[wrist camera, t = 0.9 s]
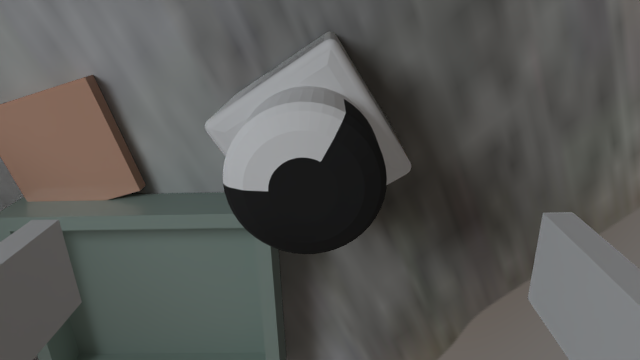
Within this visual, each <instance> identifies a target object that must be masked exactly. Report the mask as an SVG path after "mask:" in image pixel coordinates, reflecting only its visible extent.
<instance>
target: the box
mask: <svg viewBox="0 0 640 360" xmlns="http://www.w3.org/2000/svg"><path fill="white" fill-rule="evenodd" d="M31 220H59V222H60V226H61V229H62V233H63V236H64V240H65V244H66V247H67V251H68V254H69V258H70V262H71V265H72V269H73V272H74V276H75V280H76V283H77V287H78V290H79V294H80V297H81V301H82V303H81V304H80V305H79V306H78V307H77V309H76V310H75V311H74V312H73V313H72V314H71V316H70V317H69V318H68V319H67V320H66V321H65V323H64V324H63V325H62V326H61V327H60V329H59V330H58V331H57V332H56V333H55V334H54V336H53V337H52V338H51V339H50V340H49V341H48V343H47V344H46V345H45V346H44V347H43V349H42V350H41V351H40V352H39V353H38V354H37V356H38V359H39V360H286V346H285V332H284V318H283V304H282V290H281V277H280V263H279V249H276V248H273V247H271V246H269V245H267V244H265V243H263V242H261V241H260V240H258V239H257V238H255V237H254V236H253V235H252V234H250V233H249V232H248V231H247V230H246V229H245V228H244V227H243V226H242V225H241V224H240V223H239V221H238V220H237V218H236V217H235V215H234V214H233V212H232V210H231V208H230V206H229V204H228V201H227V198H226V195H225V193H170V194H127V195H123V196H120V197H116V198H113V199H109V200H93V201H37V202H27V200H26V199H25V197H23V198H22V199H20V200H18V201H17V202H15V203H13V204H12V205H10V206H9V207H7V208H5V209H4V210H2V211H1V212H0V242H1V241H2V240H4V239H5V238H7V237H8V236H10V235H11V234H12V233H14V232H15V231H17V230H18V229H20V228H21V227H22V226H24V225H25V224H27V223H28V222H29V221H31Z"/></svg>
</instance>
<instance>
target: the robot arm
mask: <svg viewBox="0 0 640 360" xmlns="http://www.w3.org/2000/svg"><path fill="white" fill-rule="evenodd" d="M528 300H529V301H530V303H531V304H532V306H533V307H534V309H535V310H536V312H537V313H538V315H539V316H540V318H541V319H542V321H543V322H544V324H545V325H546V327H547V328H548V330H549V331H550V332H551V334H552V335H553V337H554V338H555V340H556V341H557V343H558V344H559V346H560V347H561V349H562V350H563V352H564V353H565V355H566V356H567V358H568V359H569V360H640V269H639V268H638V267H637V266H636V265H634V264H633V263H632V262H631V261H630V260H628V259H627V258H626V257H625V256H624V255H622V254H621V253H620V252H619V251H618V250H617V249H615V248H614V247H613V246H612V245H611V244H610V243H608V242H607V241H606V240H605V239H603V238H602V237H601V236H600V235H599V234H598V233H596V232H595V231H594V230H593V229H592V228H591V227H589V226H588V225H587V224H586V223H585V222H583V221H582V220H581V219H580V218H579V217H578V216H576V215H575V214H574V213H573V212H553V213H543V216H542V221H541V227H540V232H539V238H538V244H537V249H536V255H535V260H534V266H533V272H532V277H531V283H530V289H529V294H528ZM81 303H82V301H81V297H80V294H79V290H78V287H77V283H76V280H75V276H74V272H73V269H72V265H71V262H70V258H69V254H68V251H67V247H66V244H65V240H64V236H63V233H62V229H61V226H60V222H59V220H31V221H29V222H28V223H27V224H25V225H24V226H22V227H21V228H20V229H18V230H17V231H15V232H14V233H12V234H11V235H10V236H8V237H7V238H5V239H4V240H2V241H1V242H0V360H33V359H34V358H35V357H36V356H37V354H38V353H39V352H40V351H41V350H42V349H43V347H44V346H45V345H46V344H47V343H48V341H49V340H50V339H51V338H52V337H53V336H54V334H55V333H56V332H57V331H58V330H59V329H60V327H61V326H62V325H63V324H64V323H65V321H66V320H67V319H68V318H69V317H70V316H71V314H72V313H73V312H74V311H75V310H76V309H77V307H78V306H79V305H80V304H81Z"/></svg>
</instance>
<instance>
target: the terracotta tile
mask: <svg viewBox="0 0 640 360" xmlns="http://www.w3.org/2000/svg"><path fill="white" fill-rule="evenodd" d="M0 157H1V158H2V160H3V162H4V163H5V165H6V167H7V168H8V170H9V172H10V173H11V175H12V177H13V178H14V180H15V182H16V184H17V185H18V187H19V189H20V190H21V192H22V194H23V195H24V197H25V199H26V200H27V202H37V201H93V200H109V199H113V198H116V197H120V196H123V195H127V194H130V193H134V192H137V191H140V190H141V189H142V188H143V187H144V186H146V185H145V182H144V180H143V178H142V176H141V174H140V172H139V170H138V168H137V166H136V164H135V162H134V159H133V157H132V155H131V153H130V151H129V149H128V147H127V145H126V143H125V141H124V139H123V136H122V134H121V132H120V130H119V128H118V126H117V124H116V122H115V120H114V118H113V116H112V114H111V111H110V109H109V107H108V105H107V103H106V101H105V99H104V97H103V95H102V93H101V91H100V88H99V86H98V84H97V82H96V80H95V78H94V76H93V75H91V76H87V77H84V78H81V79H78V80H75V81H72V82H69V83H65V84H62V85H59V86H56V87H53V88H50V89H47V90H44V91H41V92H38V93H34V94H31V95H28V96H25V97H22V98H19V99H16V100H13V101H10V102H7V103H3V104H0Z"/></svg>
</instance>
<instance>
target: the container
mask: <svg viewBox="0 0 640 360" xmlns="http://www.w3.org/2000/svg"><path fill="white" fill-rule="evenodd" d="M205 129H206V132H207V133H208V134H209V136H210V137H211V138H212V140H213V141H214V142H215V143H216V145H217V146H218V147H219V149H220V150H221V151H222V153H223V154H224V155H225V157H226V158H225V161H224V168H223V185H224V191H225V195H226V198H227V201H228V204H229V206H230V208H231V210H232V212H233V214H234V215H235V217H236V218H237V220H238V221H239V223H240V224H241V225H242V226H243V227H244V228H245V229H246V230H247V231H248V232H249V233H250V234H252V235H253V236H254V237H255V238H257V239H258V240H260V241H261V242H263V243H265V244H267V245H269V246H271V247H273V248H276V249H279V250H282V251H286V252H291V253H298V254H316V253H322V252H327V251H331V250H334V249H337V248H339V247H342V246H344V245H346V244H348V243H349V242H351V241H353V240H354V239H356V238H357V237H358V236H359V235H361V234H362V233H363V232H364V231H365V230H366V229H367V228H368V227H369V226H370V225H371V223H372V222H373V220H374V219H375V218H376V216H377V214H378V212H379V210H380V208H381V206H382V203H383V200H384V197H385V192H386V185H388V184H390V183H392V182H394V181H395V180H397V179H399V178H401V177H402V176H404V175H406V174H408V173H409V172H410V170H411V163H410V161H409V159H408V157H407V155H406V153H405V151H404V149H403V148H402V146H401V144H400V142H399V140H398V138H397V136H396V134H395V133H394V131H393V129H392V127H391V125H390V124H389V122H388V120H387V119H386V117H385V115H384V114H383V112H382V110H381V109H380V107H379V105H378V104H377V102H376V100H375V99H374V97H373V95H372V94H371V92H370V91H369V89H368V87H367V86H366V84H365V82H364V81H363V79H362V77H361V76H360V74H359V72H358V71H357V69H356V67H355V66H354V64H353V62H352V61H351V59H350V57H349V56H348V54H347V52H346V51H345V49H344V47H343V46H342V44H341V42H340V41H339V39H338V37H337V36H336V34H335V33H334V32H327V33H325V34H324V35H322V36H321V37H319V38H318V39H316V40H315V41H313V42H312V43H310V44H309V45H308V46H306V47H305V48H303V49H302V50H300V51H299V52H297V53H296V54H294V55H293V56H291V57H290V58H288V59H287V60H286V61H284V62H283V63H281V64H280V65H278V66H277V67H275V68H274V69H272V70H271V71H269V72H268V73H266V74H265V75H264V76H262V77H261V78H259V79H258V80H256V81H255V82H253V83H252V84H250V85H249V86H247V87H246V88H244V89H243V90H241V91H240V92H239V93H237V94H236V95H235V96H234V97H232V98H231V99H230V100H229V101H228V102H227V103H226V104H225V105H224V106H223V107H222V108H221V109H219V110H218V111H217V112H216V113H215V114H214V115H213V116H212V117H211V118H210V119H209V120H208V121H207V122H206V123H205Z"/></svg>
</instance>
